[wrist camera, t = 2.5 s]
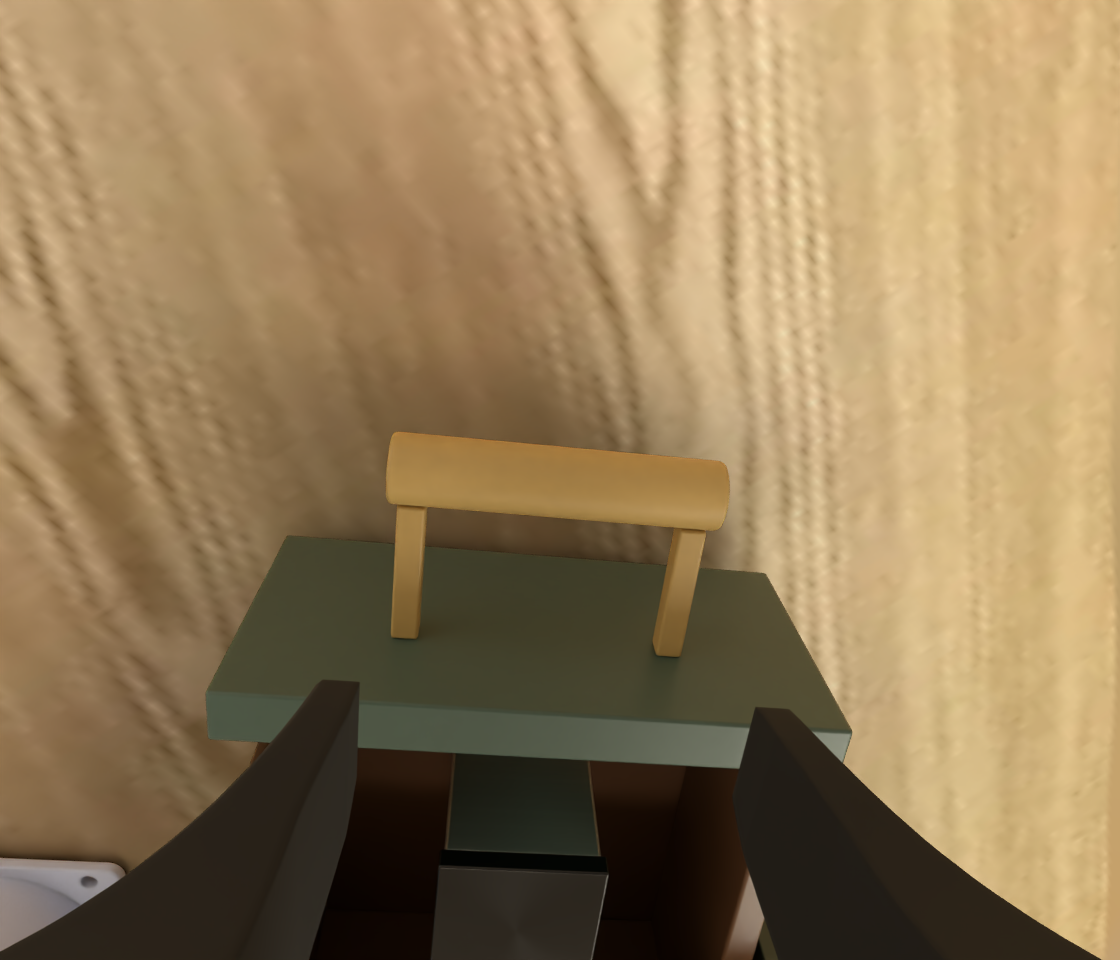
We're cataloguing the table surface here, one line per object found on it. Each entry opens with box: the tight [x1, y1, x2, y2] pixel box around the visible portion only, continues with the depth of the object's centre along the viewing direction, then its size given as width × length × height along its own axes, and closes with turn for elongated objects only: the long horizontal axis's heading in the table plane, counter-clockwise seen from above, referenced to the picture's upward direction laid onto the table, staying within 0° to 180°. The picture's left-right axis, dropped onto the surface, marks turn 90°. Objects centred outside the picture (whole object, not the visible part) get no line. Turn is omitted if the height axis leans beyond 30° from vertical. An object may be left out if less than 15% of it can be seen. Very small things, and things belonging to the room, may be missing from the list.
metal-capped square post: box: [430, 753, 609, 960], centre depth 21 cm, size 4×4×6 cm
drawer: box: [206, 432, 852, 960], centre depth 22 cm, size 18×13×7 cm
